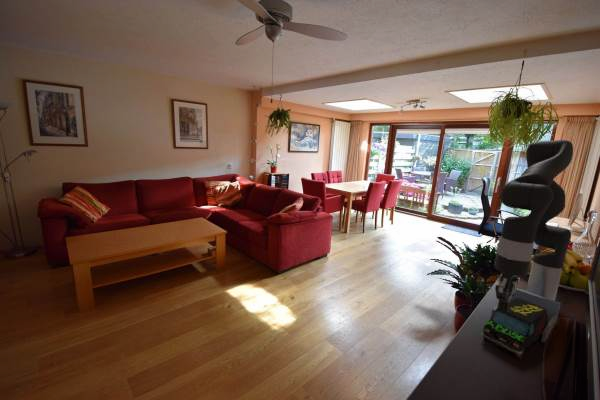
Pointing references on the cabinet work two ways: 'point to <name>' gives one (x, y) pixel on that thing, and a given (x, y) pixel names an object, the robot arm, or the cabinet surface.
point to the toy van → (516, 326)
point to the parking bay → (543, 302)
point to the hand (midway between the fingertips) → (502, 311)
